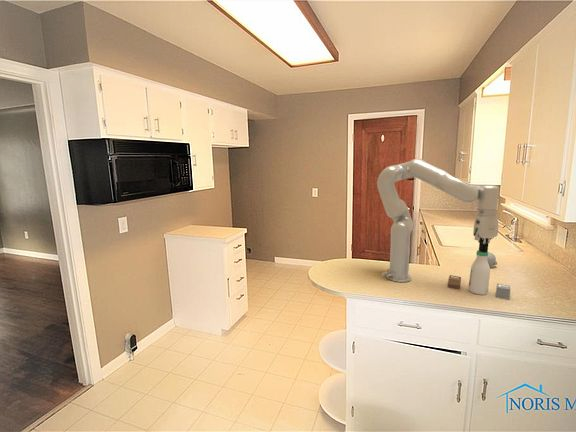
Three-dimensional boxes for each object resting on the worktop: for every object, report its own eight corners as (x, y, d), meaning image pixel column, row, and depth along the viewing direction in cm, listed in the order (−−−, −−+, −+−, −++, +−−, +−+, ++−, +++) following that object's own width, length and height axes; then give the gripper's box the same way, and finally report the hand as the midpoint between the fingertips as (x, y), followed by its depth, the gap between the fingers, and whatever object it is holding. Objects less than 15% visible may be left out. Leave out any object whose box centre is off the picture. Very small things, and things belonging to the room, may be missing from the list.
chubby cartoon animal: (474, 270, 177) (471, 258, 174) (488, 260, 179) (485, 248, 177) (485, 274, 170) (482, 261, 168) (500, 264, 173) (497, 251, 170)
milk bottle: (491, 294, 140) (496, 253, 136) (478, 296, 138) (483, 254, 134) (476, 287, 147) (481, 248, 143) (464, 289, 145) (468, 249, 141)
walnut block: (459, 290, 145) (460, 280, 144) (447, 287, 148) (448, 277, 147) (460, 286, 149) (461, 276, 148) (449, 284, 152) (449, 274, 151)
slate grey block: (509, 300, 134) (510, 289, 133) (495, 297, 137) (496, 286, 136) (508, 295, 138) (510, 285, 137) (495, 293, 141) (497, 283, 140)
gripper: (481, 215, 130) (478, 255, 133) (506, 212, 134) (502, 251, 137) (466, 212, 137) (463, 251, 140) (491, 210, 141) (487, 247, 144)
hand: (483, 251), depth 139 cm, fingers closed
